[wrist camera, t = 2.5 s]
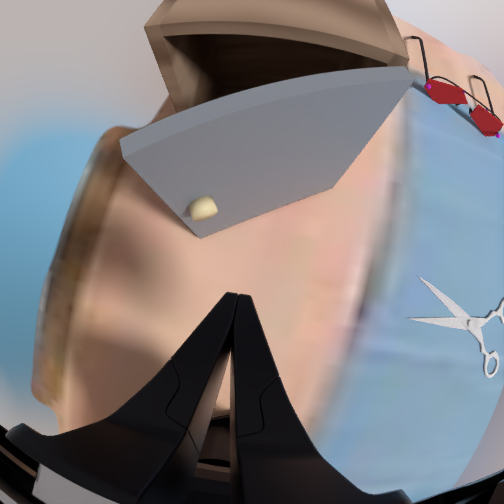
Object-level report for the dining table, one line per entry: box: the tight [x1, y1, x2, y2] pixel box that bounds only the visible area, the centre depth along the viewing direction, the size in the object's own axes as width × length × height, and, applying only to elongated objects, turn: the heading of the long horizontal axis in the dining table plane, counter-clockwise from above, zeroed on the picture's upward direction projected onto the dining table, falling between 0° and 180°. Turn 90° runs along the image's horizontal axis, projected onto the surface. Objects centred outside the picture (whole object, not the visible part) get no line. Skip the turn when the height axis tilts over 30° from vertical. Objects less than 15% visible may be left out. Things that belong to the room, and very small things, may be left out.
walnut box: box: [144, 0, 409, 113], centre depth 16 cm, size 9×12×15 cm
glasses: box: [411, 36, 504, 138], centre depth 24 cm, size 14×16×5 cm
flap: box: [119, 66, 415, 239], centre depth 15 cm, size 2×12×14 cm, turn 112°
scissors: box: [407, 276, 504, 378], centre depth 21 cm, size 11×1×20 cm
